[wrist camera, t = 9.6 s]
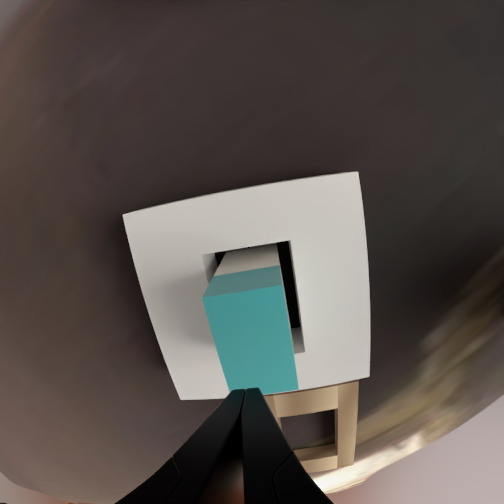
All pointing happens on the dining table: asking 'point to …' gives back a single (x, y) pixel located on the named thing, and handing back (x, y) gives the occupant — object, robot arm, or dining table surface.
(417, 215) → the dining table surface
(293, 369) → the plug
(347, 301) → the port block
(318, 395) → the holster
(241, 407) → the robot arm
